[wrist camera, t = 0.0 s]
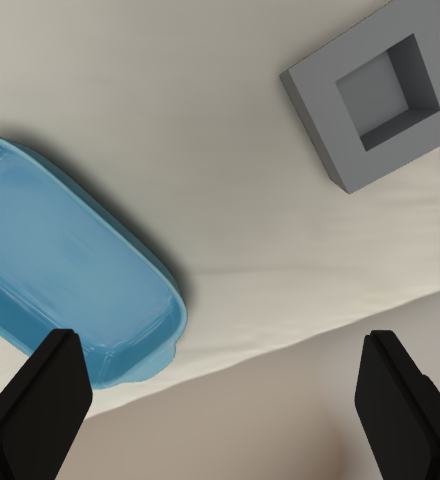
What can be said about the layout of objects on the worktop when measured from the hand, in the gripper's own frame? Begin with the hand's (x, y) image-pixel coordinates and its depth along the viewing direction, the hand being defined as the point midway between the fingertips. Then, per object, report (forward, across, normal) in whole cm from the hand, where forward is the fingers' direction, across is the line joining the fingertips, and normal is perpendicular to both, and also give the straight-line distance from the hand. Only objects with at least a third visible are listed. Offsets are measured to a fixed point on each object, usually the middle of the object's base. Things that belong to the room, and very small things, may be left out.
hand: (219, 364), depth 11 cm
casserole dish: (+32, +22, +11) cm, 40 cm away
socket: (+31, -14, -8) cm, 35 cm away
